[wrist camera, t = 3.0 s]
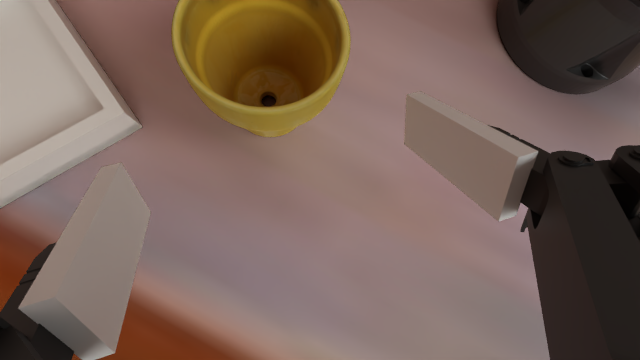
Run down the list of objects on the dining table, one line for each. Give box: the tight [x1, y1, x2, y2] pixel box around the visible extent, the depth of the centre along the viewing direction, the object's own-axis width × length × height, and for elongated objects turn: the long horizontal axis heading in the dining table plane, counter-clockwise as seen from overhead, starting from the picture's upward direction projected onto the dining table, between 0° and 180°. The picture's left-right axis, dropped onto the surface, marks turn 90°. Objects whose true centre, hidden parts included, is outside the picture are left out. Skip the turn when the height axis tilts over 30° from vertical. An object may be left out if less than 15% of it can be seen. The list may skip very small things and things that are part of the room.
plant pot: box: [171, 0, 350, 137], centre depth 22 cm, size 10×10×10 cm
